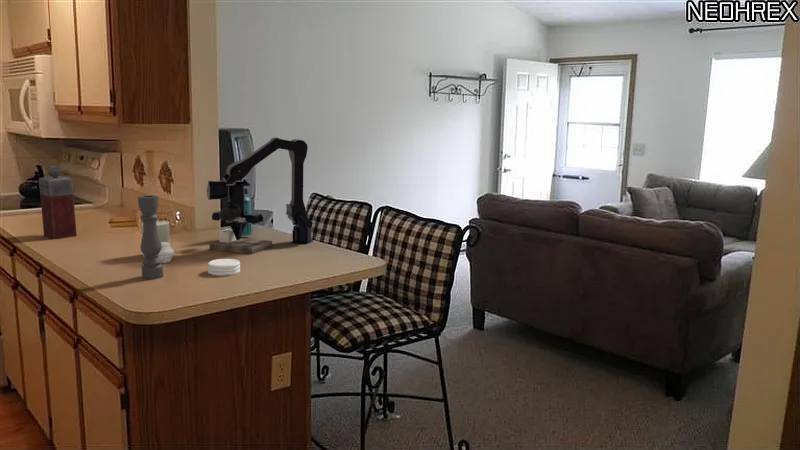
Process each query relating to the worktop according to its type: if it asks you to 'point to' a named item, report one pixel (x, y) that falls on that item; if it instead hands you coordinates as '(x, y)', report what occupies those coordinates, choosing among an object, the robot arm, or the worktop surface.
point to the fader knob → (226, 236)
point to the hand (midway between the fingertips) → (238, 239)
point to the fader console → (242, 246)
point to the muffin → (166, 252)
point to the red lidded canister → (57, 205)
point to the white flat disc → (223, 267)
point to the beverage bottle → (248, 227)
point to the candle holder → (150, 238)
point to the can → (161, 231)
